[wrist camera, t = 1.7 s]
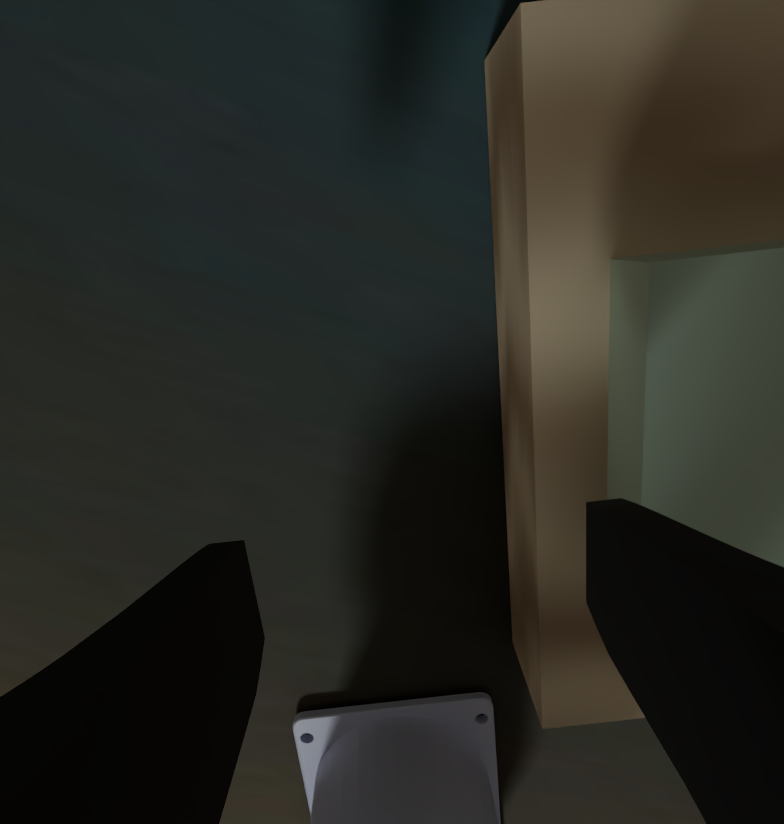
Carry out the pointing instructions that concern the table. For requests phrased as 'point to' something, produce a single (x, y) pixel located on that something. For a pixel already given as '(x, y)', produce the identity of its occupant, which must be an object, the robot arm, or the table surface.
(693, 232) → the riser
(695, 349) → the tile
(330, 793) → the robot arm
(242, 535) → the table surface
